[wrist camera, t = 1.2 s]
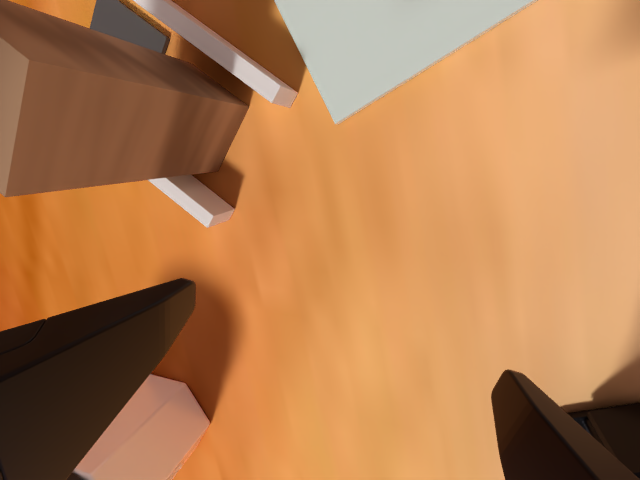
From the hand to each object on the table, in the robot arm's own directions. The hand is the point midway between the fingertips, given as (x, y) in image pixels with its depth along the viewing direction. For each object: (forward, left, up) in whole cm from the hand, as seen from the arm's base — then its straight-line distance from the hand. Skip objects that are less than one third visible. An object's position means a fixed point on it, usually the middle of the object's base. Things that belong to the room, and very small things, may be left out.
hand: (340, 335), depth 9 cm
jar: (-8, +27, -12) cm, 31 cm away
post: (+12, +8, -12) cm, 19 cm away
